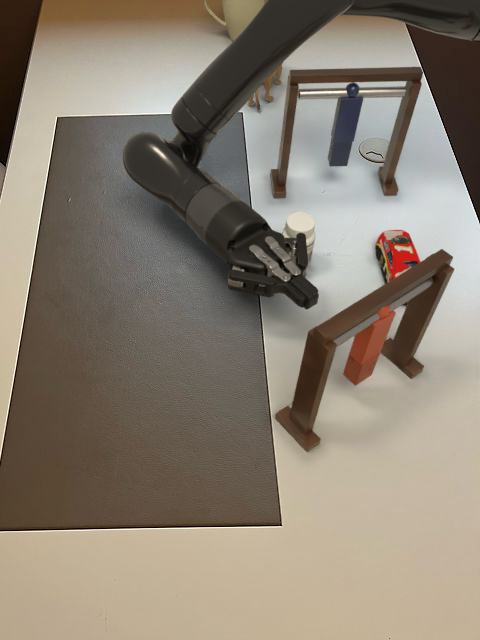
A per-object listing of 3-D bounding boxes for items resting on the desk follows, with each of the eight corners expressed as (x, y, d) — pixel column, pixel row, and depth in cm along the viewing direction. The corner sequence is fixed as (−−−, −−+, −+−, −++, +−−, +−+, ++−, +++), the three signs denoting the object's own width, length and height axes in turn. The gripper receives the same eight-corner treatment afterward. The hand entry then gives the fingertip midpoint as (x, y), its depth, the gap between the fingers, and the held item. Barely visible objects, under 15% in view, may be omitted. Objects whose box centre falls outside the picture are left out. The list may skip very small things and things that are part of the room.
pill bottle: (276, 253, 94) (282, 209, 87) (308, 254, 94) (316, 209, 87) (278, 276, 91) (284, 232, 84) (310, 277, 91) (319, 233, 84)
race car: (428, 307, 88) (437, 288, 84) (389, 309, 88) (397, 289, 84) (407, 242, 95) (415, 221, 92) (372, 243, 95) (378, 222, 92)
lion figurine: (258, 69, 123) (261, 22, 115) (284, 72, 122) (290, 24, 115) (245, 112, 115) (248, 63, 107) (273, 115, 114) (278, 67, 107)
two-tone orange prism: (304, 399, 74) (321, 330, 63) (394, 339, 79) (424, 265, 68) (316, 412, 73) (336, 343, 62) (407, 350, 78) (440, 277, 67)
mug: (238, 20, 134) (241, -43, 124) (272, 37, 130) (277, -27, 120) (201, 38, 130) (201, -25, 120) (234, 56, 126) (237, -8, 116)
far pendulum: (288, 159, 100) (299, 80, 89) (383, 156, 100) (405, 78, 89) (290, 167, 99) (300, 89, 88) (386, 165, 99) (408, 86, 88)
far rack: (270, 175, 104) (282, 61, 89) (389, 172, 104) (423, 58, 89) (273, 198, 101) (286, 84, 85) (396, 195, 101) (433, 81, 85)
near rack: (274, 418, 78) (293, 317, 62) (388, 342, 84) (431, 234, 68) (307, 452, 75) (335, 356, 59) (422, 371, 81) (475, 265, 65)
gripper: (185, 222, 78) (275, 306, 70) (266, 182, 83) (359, 256, 75) (186, 265, 85) (269, 347, 77) (261, 226, 89) (347, 299, 81)
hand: (313, 302), depth 76 cm, fingers closed
